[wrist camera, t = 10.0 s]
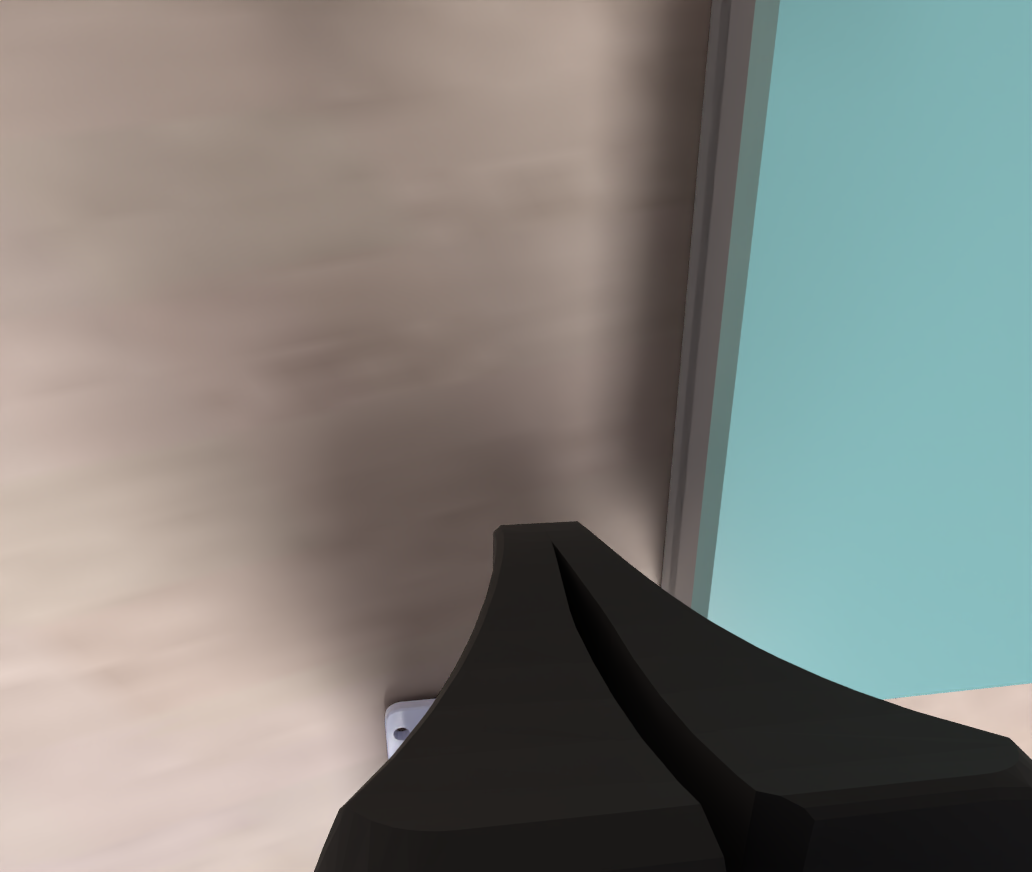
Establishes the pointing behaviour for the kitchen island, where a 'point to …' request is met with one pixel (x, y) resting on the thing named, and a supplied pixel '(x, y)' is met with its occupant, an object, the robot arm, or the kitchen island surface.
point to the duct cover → (878, 349)
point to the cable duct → (706, 283)
